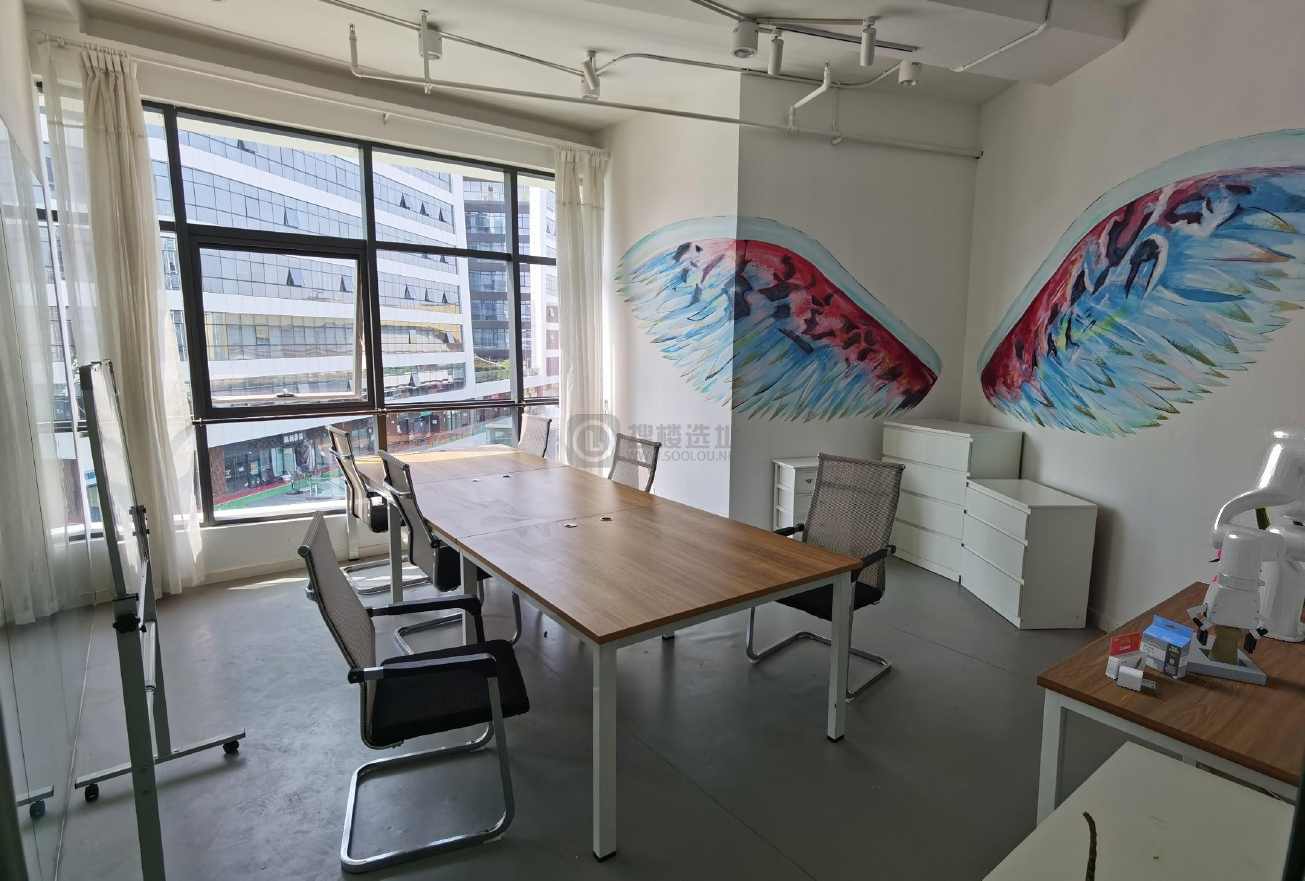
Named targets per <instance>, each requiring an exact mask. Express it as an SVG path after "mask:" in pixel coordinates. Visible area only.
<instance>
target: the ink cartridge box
mask: <svg viewBox="0 0 1305 881" xmlns="http://www.w3.org/2000/svg"><path fill="white" fill-rule="evenodd" d="M1140 636H1141V631H1137V632H1133V633H1127V634H1123V635H1117V636H1114V637H1111V639H1110V647H1109V648H1110V649H1109V656H1108V661H1107V666H1106V671H1105V676H1106V675H1107V676H1106V677H1108V678H1110V677H1111V679H1112V678H1113V680H1114V679H1116V680H1118V679H1117V678H1118V674H1119V669H1120V665H1123V666H1126V667H1130V668H1133V669H1137V670H1140V671H1143V672H1145V669H1146V666H1145V664H1146V659H1147V653H1144V652H1142V651H1140V640H1141V638H1140ZM1126 638H1127V639H1129V641H1124V642H1122V641H1123V640H1125V639H1126Z"/></svg>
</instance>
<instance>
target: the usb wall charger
mask: <svg viewBox="0 0 1305 881" xmlns="http://www.w3.org/2000/svg"><path fill="white" fill-rule="evenodd" d="M1143 674H1144V673H1143V671H1140V670H1137V669H1133V668H1130V667H1126V666H1123V665H1120V669H1119V674H1118V679H1117V682H1116V685H1117V686H1119V687H1122V686H1123V688H1125V687H1127V688H1126V689H1129V690H1132V689H1133V690H1132V691H1135V690H1137V691H1136V692H1139V693H1140V691H1141V686H1145V687H1147V688H1151V689H1156V684H1157V682H1156V681H1153V680H1150V679H1145V678H1143Z"/></svg>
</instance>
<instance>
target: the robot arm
mask: <svg viewBox="0 0 1305 881" xmlns="http://www.w3.org/2000/svg"><path fill="white" fill-rule="evenodd" d="M1268 440H1269V445H1268V447H1267V449H1266V451H1265V454H1264V457H1263V459H1262V460H1261V464H1260V467H1259V469H1258V471H1257V473H1256V477H1255V478H1254V481H1253V484H1252V486H1251V487H1250V488H1249V489H1248V490H1246V491H1243V492H1241V493H1239V494H1237V495H1235V496H1233V497H1232V498H1230V499H1229V500H1228V501H1226V502H1225V503H1223V505H1222V506H1221V507H1220V508H1219V510H1218V511H1217V513H1216V515H1215V518H1214V520H1213V523H1212V526H1211V527H1210V531H1209V533H1208V534H1209V536H1208V541H1209V544H1210V545H1211V546H1212V547H1213V549H1215V550H1218V551H1219V550H1220V551H1222V552H1221V557H1220V559H1219V561H1220V563H1219V562H1218V563H1219V566H1218V569H1217V574H1216V576H1217V579H1216V582H1212V581H1211V582H1210V583H1211V584H1209V585H1210V586H1209V587H1208V589H1207V591H1206V594H1205V596H1204V599H1203V603H1202V604H1201V605H1198V606H1194V607H1190V608H1188V609H1187V610H1186V611H1187V613H1188V616H1189V618H1190V619H1191V621H1192V622H1194V624H1195V625H1196V626H1197V627H1198V628H1197V631H1196V633H1197V640H1198V642H1199V643H1200V644H1201V645H1202V646H1206V644H1207V639H1208V635H1209V630H1208V629H1209V628H1211V627H1212V626H1214V625H1215V626H1216V625H1222V626H1228V627H1234V628H1239V629H1241V630H1246V631H1247V632H1248V633H1246V634H1245V637H1244V643H1243V650H1244V651H1246V652H1247V653H1248V654H1250V655H1253V653H1254V652H1253V651H1255V650H1256V647H1257V644H1258V643H1257V642H1258V640H1260V639H1261V638H1262V637H1263V636H1264V637H1267V638H1270V639H1273V638H1274V639H1275V640H1279V641H1283V640H1284V641H1285V642H1292V643H1295V642H1296V643H1298V642H1299V643H1301V642H1303V641H1305V623H1303V622H1302V621H1301V616H1302V612H1303V607H1304V602H1305V568H1304V567H1303V565H1302V564H1301V563H1305V526H1302V525H1296V524H1290V523H1283V522H1282V523H1281V522H1280V523H1279V522H1278V523H1274V524H1273V523H1272V524H1270V525H1268V526H1267V527H1266V528H1265V529H1260V528H1256V527H1251V526H1246V525H1242V524H1236V523H1232V522H1233V521H1234V519H1235V518H1236V517H1237V516H1239V515H1241V514H1242V513H1245V512H1249V511H1251V510H1256V509H1263V508H1270V507H1275V508H1276V513H1277V514H1278V516H1279V517H1281V518H1283V519H1285V520H1290V521H1293V522H1299V523H1302V524H1303V523H1304V524H1305V427H1302V426H1278V427H1276V428H1274V429H1272V430H1271V431H1270V433H1269V439H1268ZM1198 614H1201V616H1202V617H1203V618H1201V619H1199V617H1198ZM1274 639H1273V640H1274Z"/></svg>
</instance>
